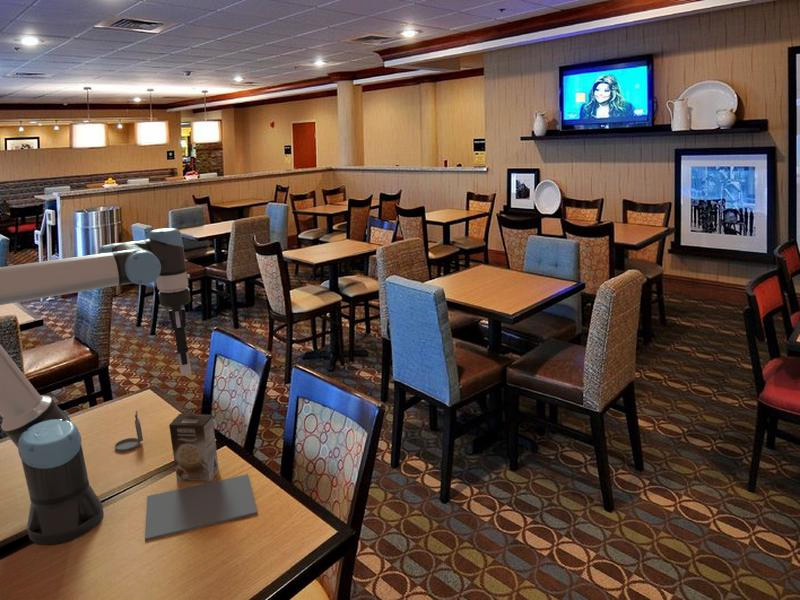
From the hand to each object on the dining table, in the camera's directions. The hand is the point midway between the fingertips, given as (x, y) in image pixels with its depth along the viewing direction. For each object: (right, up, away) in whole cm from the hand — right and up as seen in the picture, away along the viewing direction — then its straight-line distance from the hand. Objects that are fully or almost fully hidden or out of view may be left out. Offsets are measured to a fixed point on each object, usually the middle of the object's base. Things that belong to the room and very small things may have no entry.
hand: (186, 374), depth 160 cm
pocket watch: (-19, -22, +11) cm, 31 cm away
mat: (+10, -29, -19) cm, 36 cm away
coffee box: (+5, -26, -6) cm, 27 cm away
